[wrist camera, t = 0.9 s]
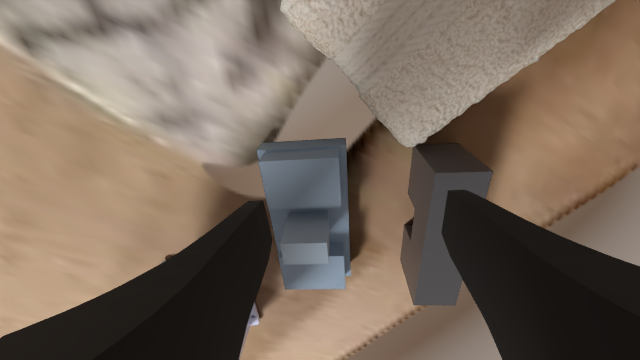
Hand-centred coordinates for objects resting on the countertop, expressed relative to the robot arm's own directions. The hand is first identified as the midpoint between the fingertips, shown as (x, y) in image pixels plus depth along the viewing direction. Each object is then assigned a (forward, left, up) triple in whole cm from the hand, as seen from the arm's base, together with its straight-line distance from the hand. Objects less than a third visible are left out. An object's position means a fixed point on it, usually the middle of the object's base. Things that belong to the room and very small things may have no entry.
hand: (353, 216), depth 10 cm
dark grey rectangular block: (-6, -6, -9) cm, 12 cm away
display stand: (-6, +3, -9) cm, 11 cm away
